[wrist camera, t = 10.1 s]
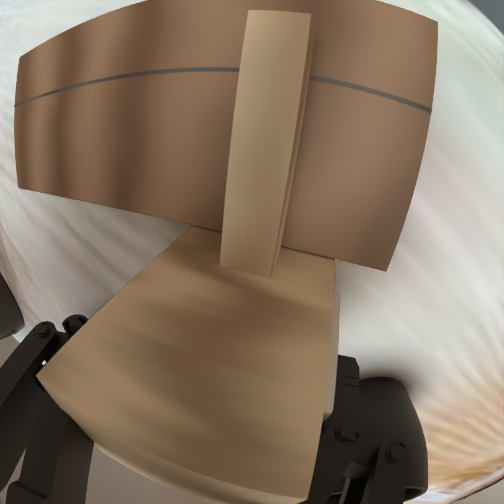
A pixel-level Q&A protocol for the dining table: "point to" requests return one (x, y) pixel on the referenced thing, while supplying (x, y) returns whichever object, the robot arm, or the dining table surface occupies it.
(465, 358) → the dining table surface
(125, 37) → the board
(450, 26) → the dining table surface
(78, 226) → the dining table surface
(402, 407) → the mug
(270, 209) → the beige block with bar
